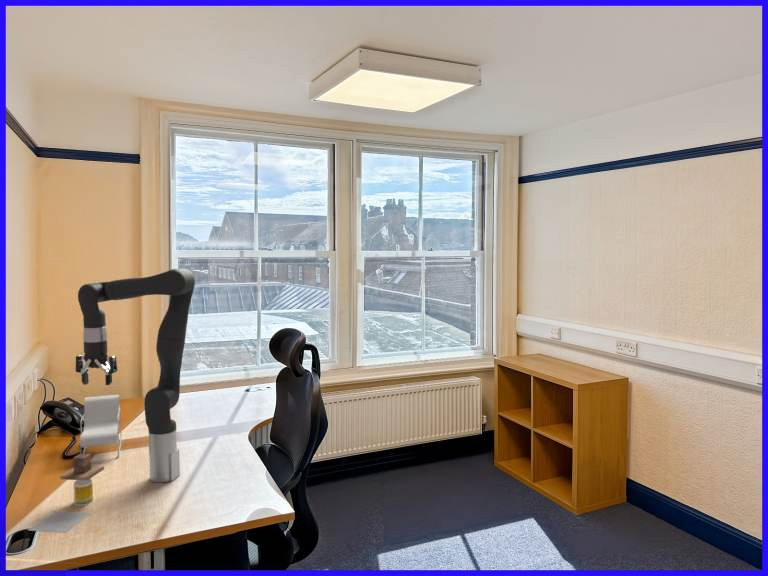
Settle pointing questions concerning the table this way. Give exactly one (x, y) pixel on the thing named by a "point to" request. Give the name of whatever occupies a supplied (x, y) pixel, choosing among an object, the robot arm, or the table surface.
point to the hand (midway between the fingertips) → (97, 384)
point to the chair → (101, 422)
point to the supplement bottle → (83, 492)
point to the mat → (59, 521)
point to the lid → (82, 469)
